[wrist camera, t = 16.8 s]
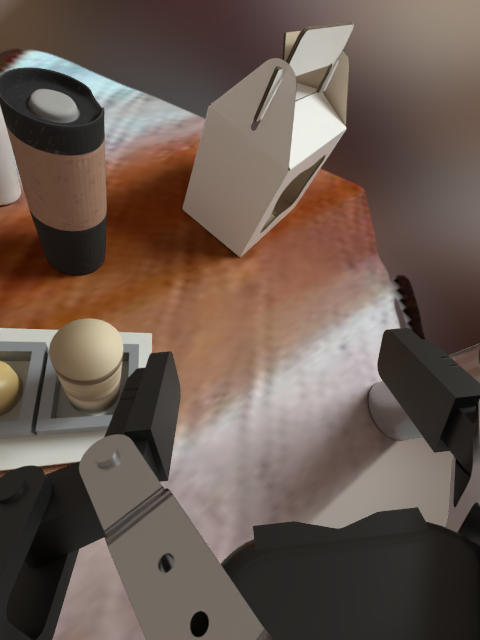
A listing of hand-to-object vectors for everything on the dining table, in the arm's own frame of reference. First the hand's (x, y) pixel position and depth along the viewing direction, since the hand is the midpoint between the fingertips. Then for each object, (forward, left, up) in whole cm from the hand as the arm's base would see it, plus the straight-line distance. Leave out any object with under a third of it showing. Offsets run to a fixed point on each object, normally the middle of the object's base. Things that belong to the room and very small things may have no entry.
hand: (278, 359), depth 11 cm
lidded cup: (+5, -8, -26) cm, 28 cm away
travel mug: (+1, -28, -27) cm, 39 cm away
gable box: (-30, -32, -28) cm, 52 cm away
